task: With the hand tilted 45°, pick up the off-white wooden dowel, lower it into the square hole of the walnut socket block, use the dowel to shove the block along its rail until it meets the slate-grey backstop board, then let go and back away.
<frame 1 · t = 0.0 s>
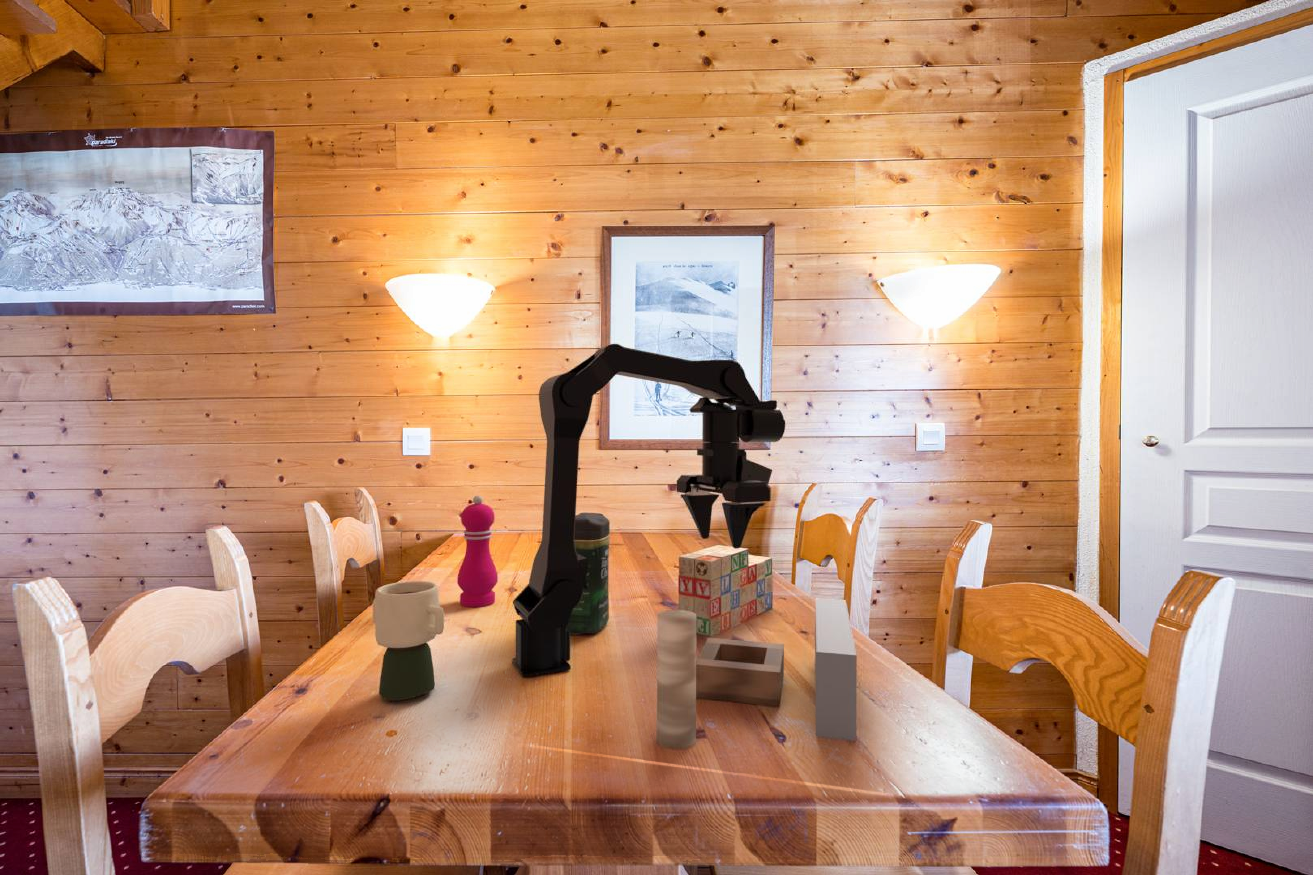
hand: (720, 543, 97), 15 cm above the table, tool pointing down, fingers open, 9 cm apart
character mug: (407, 696, 75), on the table
stack of blocks: (728, 620, 107), on the table
pepper mill: (477, 603, 116), on the table
coffee jar: (583, 628, 102), on the table
dowel: (676, 741, 64), on the table
socket block: (741, 669, 78), point 2 cm above the table, slide at 0.0 cm
backstop board: (832, 696, 75), on the table
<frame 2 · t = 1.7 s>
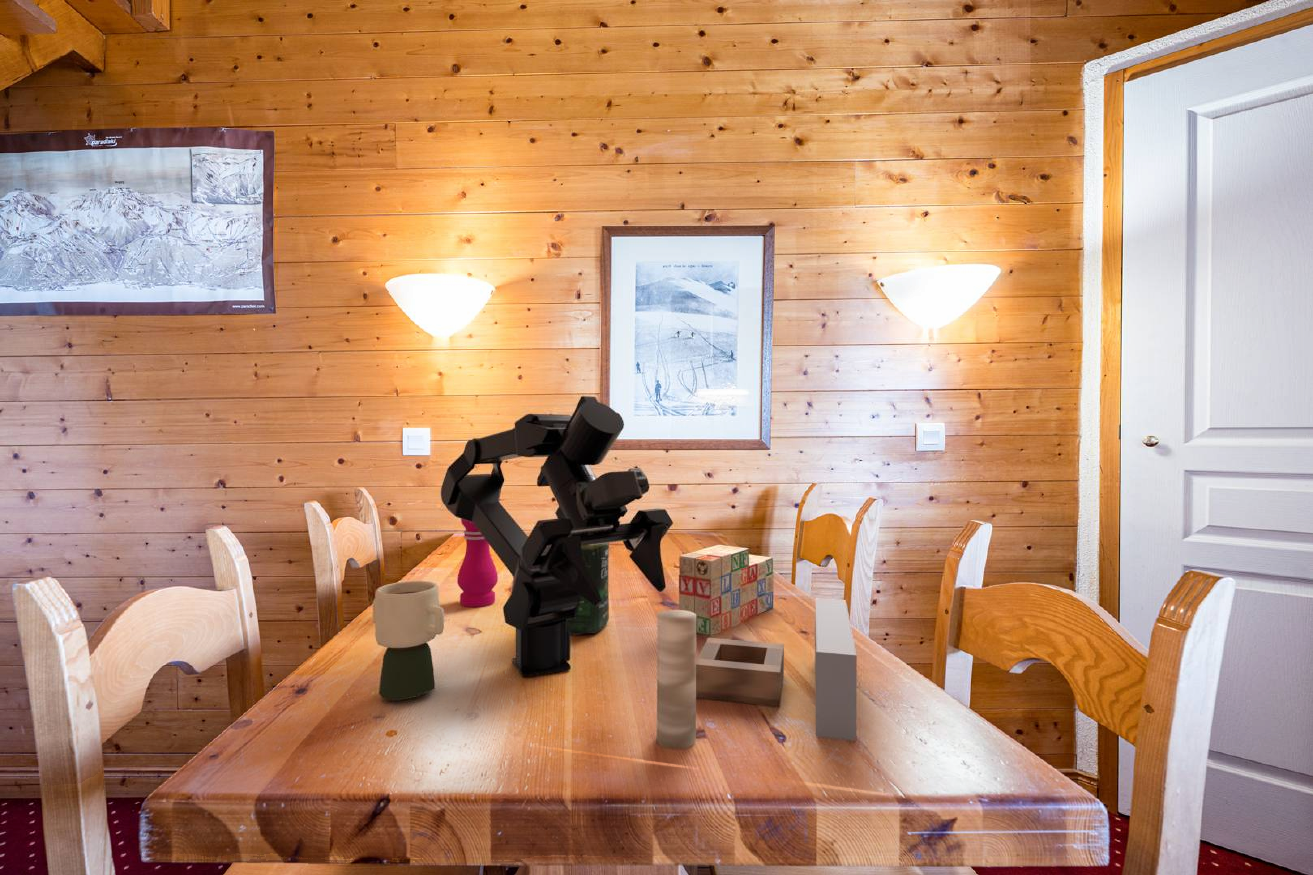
hand: (632, 596, 70), 13 cm above the table, tool tilted 45°, fingers open, 9 cm apart
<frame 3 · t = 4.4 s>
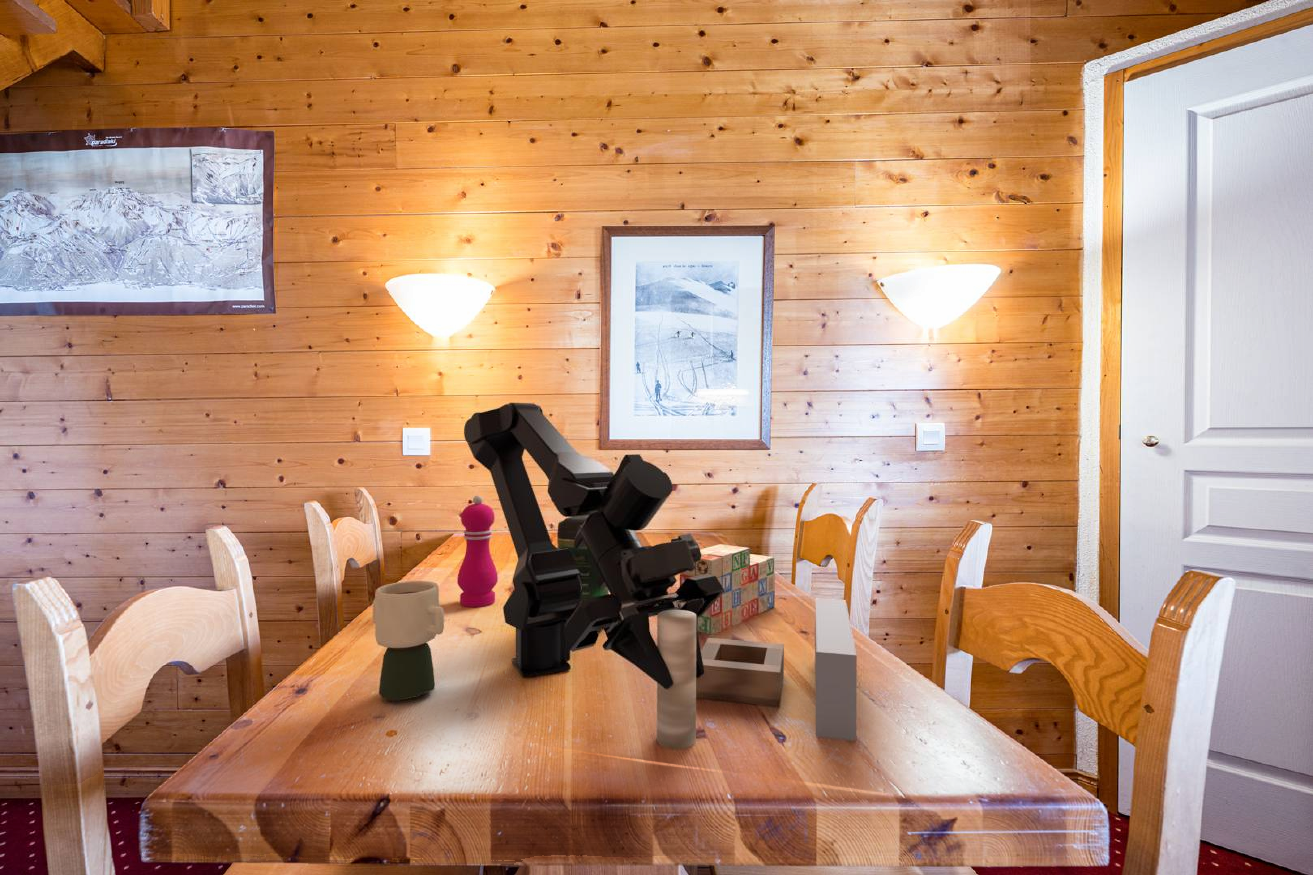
hand: (685, 681, 63), 7 cm above the table, tool tilted 45°, fingers closed on dowel, 4 cm apart
dowel: (676, 741, 64), on the table, touching gripper
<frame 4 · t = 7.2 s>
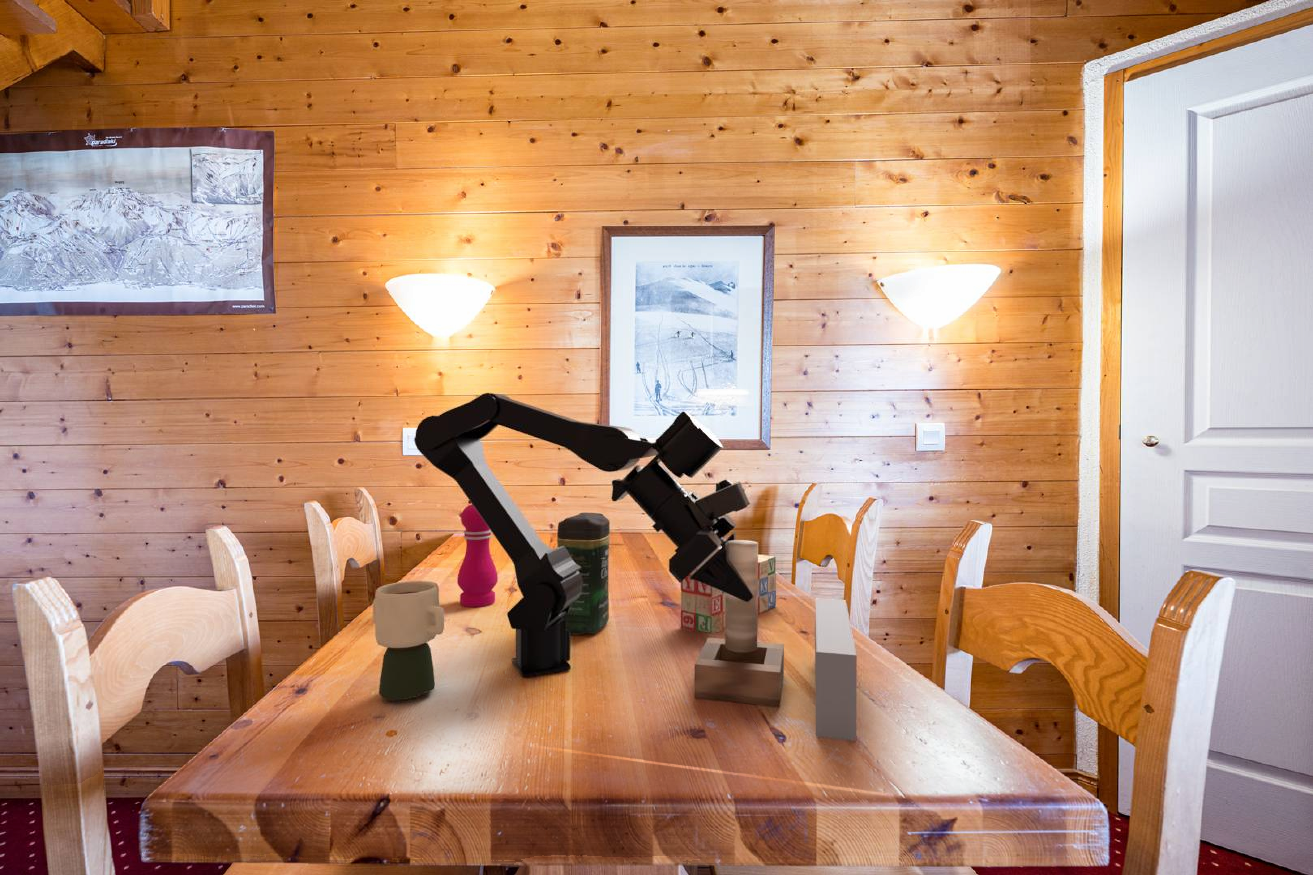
hand: (752, 594, 78), 12 cm above the table, tool tilted 45°, fingers closed on dowel, 4 cm apart
dowel: (741, 646, 78), point 5 cm above the table, touching gripper
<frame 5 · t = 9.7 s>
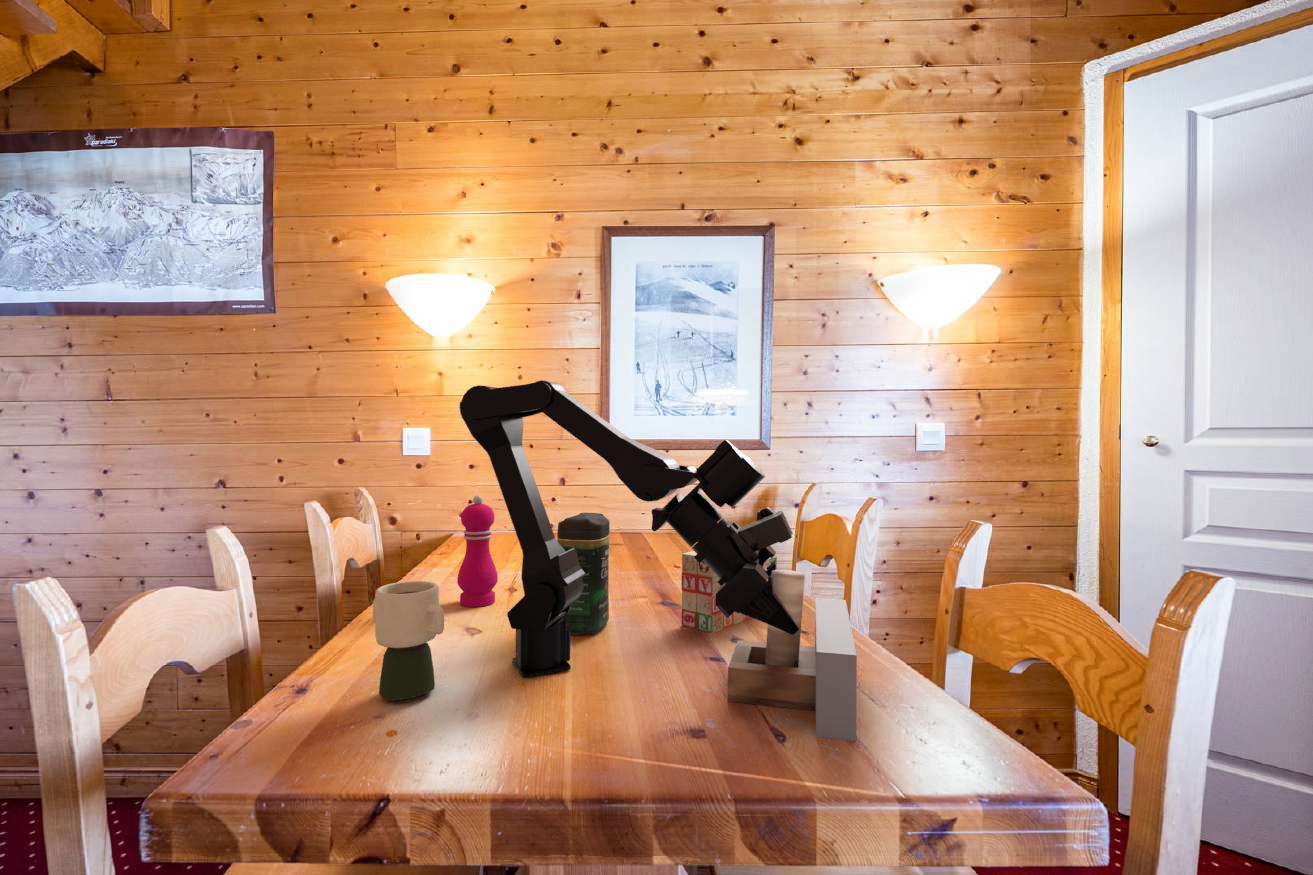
hand: (796, 626, 76), 8 cm above the table, tool tilted 45°, fingers closed on dowel, 4 cm apart
dowel: (780, 678, 77), point 2 cm above the table, touching gripper, socket block
socket block: (773, 672, 77), point 2 cm above the table, slide at 4.0 cm, touching backstop board, dowel
when the fingers open (8 cm above the table, at t = 10.0 s): dowel stays where it is, resting on socket block.
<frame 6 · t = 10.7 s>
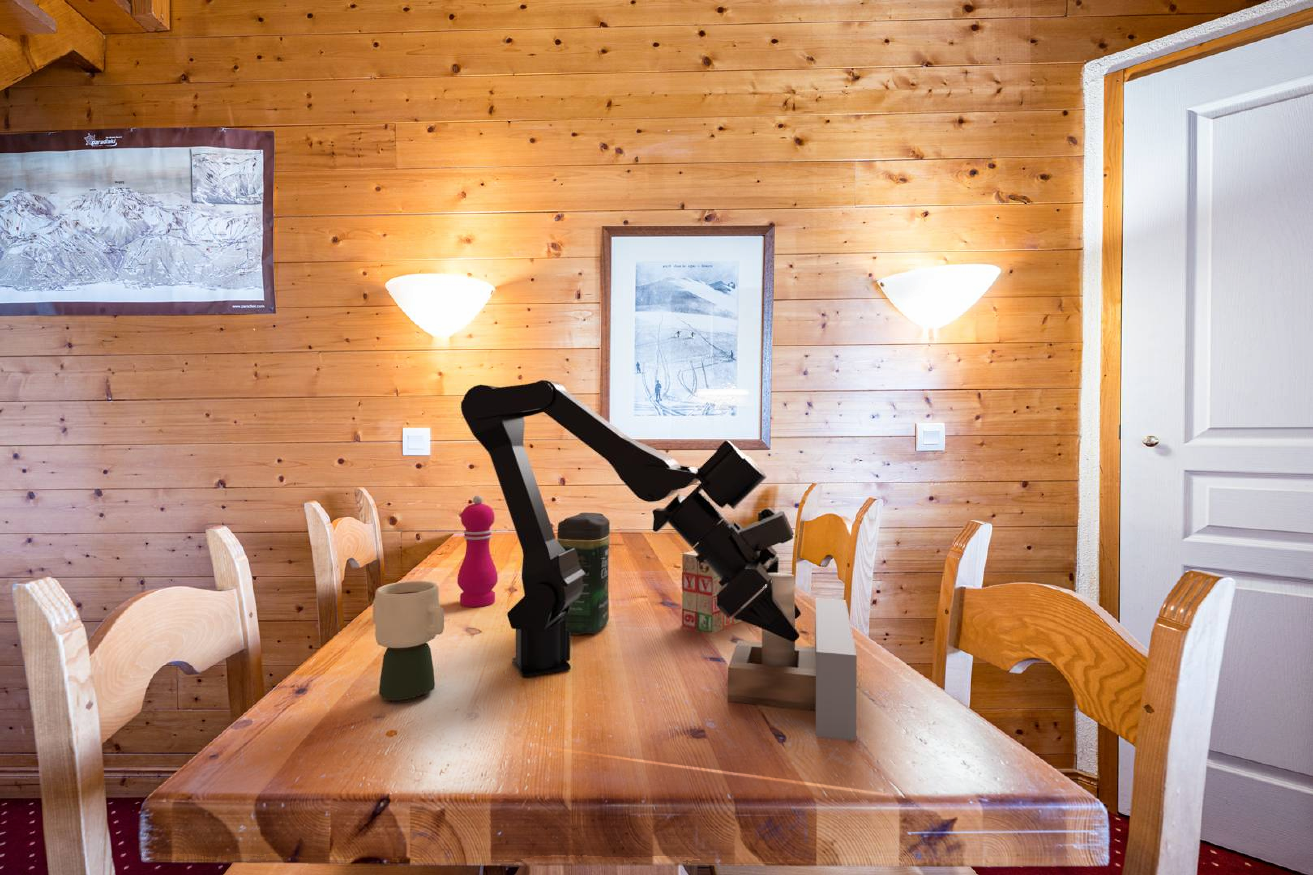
hand: (797, 627, 76), 8 cm above the table, tool tilted 45°, fingers open, 9 cm apart
dowel: (778, 681, 77), point 1 cm above the table, touching socket block
socket block: (773, 672, 77), point 2 cm above the table, slide at 4.0 cm, touching dowel
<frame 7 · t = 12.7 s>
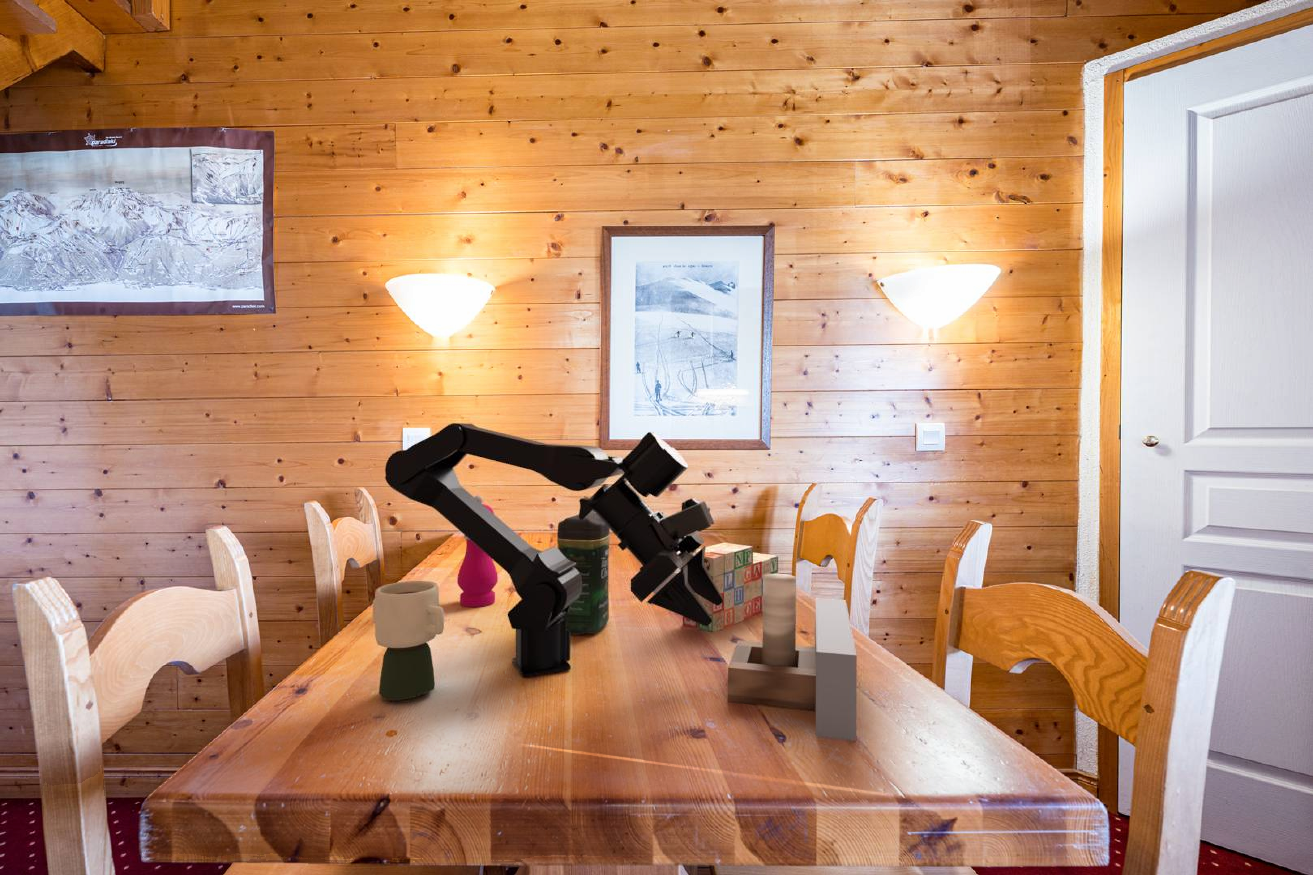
hand: (715, 612, 79), 9 cm above the table, tool tilted 45°, fingers open, 9 cm apart
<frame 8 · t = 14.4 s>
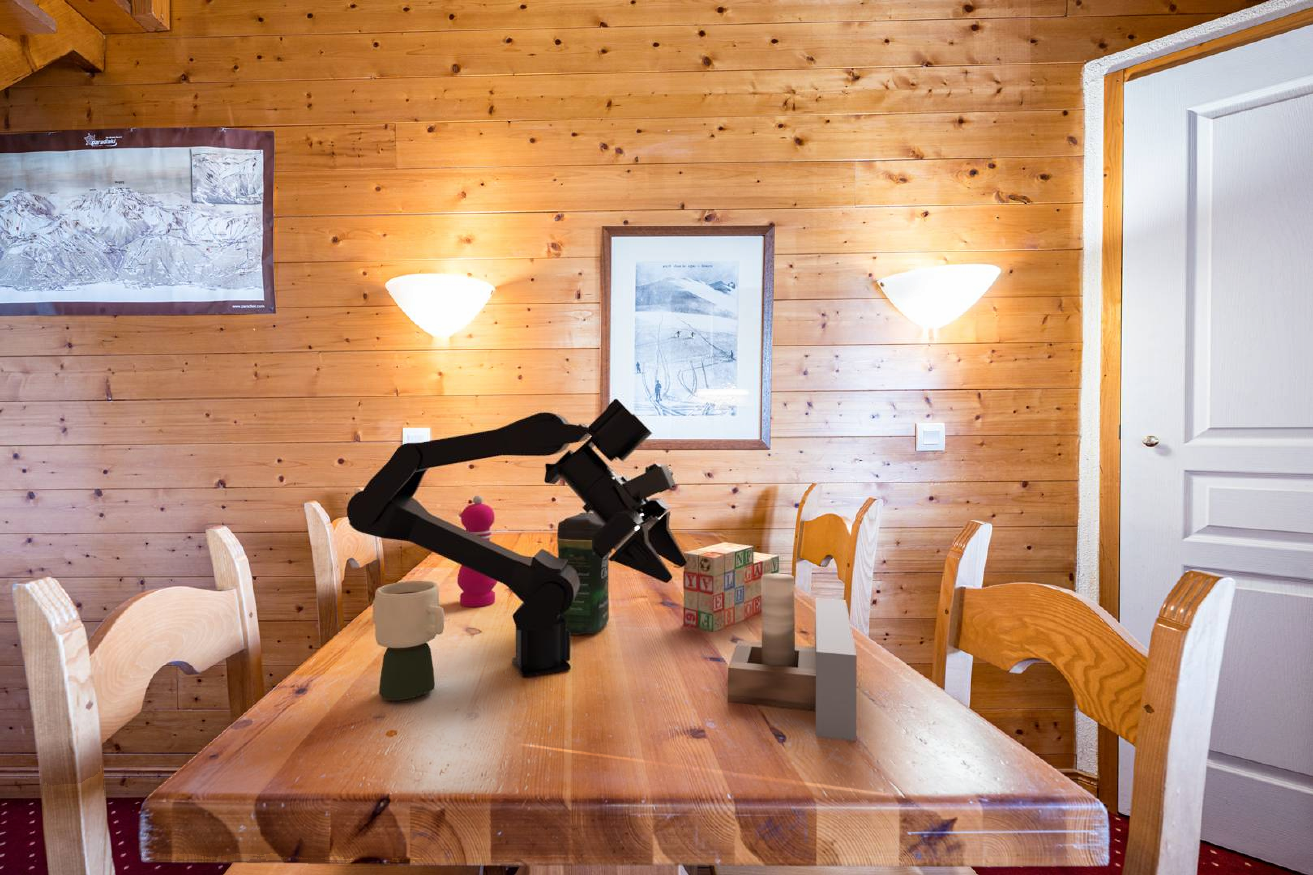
hand: (677, 572, 81), 14 cm above the table, tool tilted 45°, fingers open, 9 cm apart
at the end: socket block slide at 4.0 cm; dowel 0.6 cm off-centre on the socket block, point 0.9 cm above the socket block's base; dowel tilted 2° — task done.
